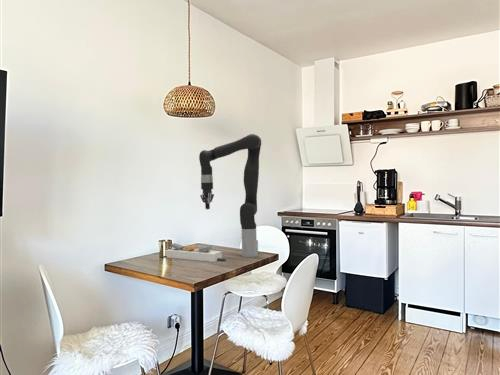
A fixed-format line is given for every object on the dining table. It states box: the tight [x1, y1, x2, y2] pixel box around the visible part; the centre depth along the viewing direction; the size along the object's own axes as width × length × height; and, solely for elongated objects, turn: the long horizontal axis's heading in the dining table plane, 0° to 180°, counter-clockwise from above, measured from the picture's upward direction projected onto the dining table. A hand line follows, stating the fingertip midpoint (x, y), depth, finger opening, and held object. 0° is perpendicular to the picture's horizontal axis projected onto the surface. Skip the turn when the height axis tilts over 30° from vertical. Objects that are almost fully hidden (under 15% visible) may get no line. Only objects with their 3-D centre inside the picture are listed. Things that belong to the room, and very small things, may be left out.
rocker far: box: [170, 242, 185, 250], centre depth 227 cm, size 7×4×2 cm, turn 64°
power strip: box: [165, 247, 226, 263], centre depth 222 cm, size 43×9×5 cm, turn 64°
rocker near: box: [198, 245, 213, 252], centre depth 218 cm, size 7×4×2 cm, turn 63°
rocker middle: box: [184, 244, 198, 250], centre depth 223 cm, size 7×4×2 cm, turn 64°
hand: (207, 209), depth 231 cm, fingers closed
